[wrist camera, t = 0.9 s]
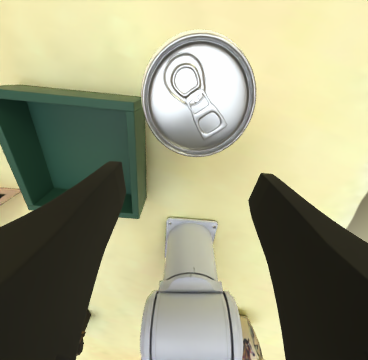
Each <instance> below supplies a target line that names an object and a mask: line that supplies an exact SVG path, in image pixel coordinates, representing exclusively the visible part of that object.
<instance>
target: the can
mask: <svg viewBox="0 0 368 360" xmlns="http://www.w3.org/2000/svg"><path fill="white" fill-rule="evenodd" d="M141 100H142V107H143V111H144V115H145V118H146V121H147V123H148V126H149V128H150V129H151V131H152V133H153V134H154V135H155V137H156V138H157V139H158V140H159V141H160V142H161V143H162V144H163V145H164V146H166V147H167V148H168V149H170V150H172V151H174V152H176V153H178V154H181V155H185V156H190V157H204V156H209V155H213V154H216V153H218V152H221V151H223V150H224V149H226V148H228V147H229V146H230V145H232V144H233V143H234V142H235V141H236V140H237V139H238V138H239V137H240V136H241V135H242V133H243V132H244V131H245V129H246V128H247V126H248V124H249V122H250V120H251V117H252V115H253V112H254V108H255V103H256V83H255V77H254V74H253V71H252V68H251V66H250V63H249V62H248V60H247V58H246V56H245V55H244V53H243V52H242V50H241V49H240V48H239V47H238V46H237V45H236V44H235V43H234V42H233V41H232V40H230V39H229V38H228V37H226V36H224V35H222V34H220V33H217V32H214V31H210V30H204V29H196V30H189V31H185V32H182V33H179V34H177V35H175V36H173V37H172V38H170V39H169V40H167V41H166V42H165V43H163V44H162V45H161V46H160V47H159V48H158V49H157V51H156V52H155V53H154V55H153V56H152V58H151V59H150V61H149V63H148V65H147V67H146V70H145V73H144V76H143V81H142V88H141Z"/></svg>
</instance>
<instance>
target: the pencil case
mask: <svg viewBox="0 0 368 360" xmlns="http://www.w3.org/2000/svg"><path fill="white" fill-rule="evenodd" d="M239 316H240V315H239ZM240 321H241V328H242V336H243V356H242V360H264V359H263V357H262V353H261V349H260V345H259V342H258V339H257V337H256V334H255V332H254V330H253V327H252V326H251V324H250V321H249V319H248V318H247V317H246V316H242V315H241V316H240Z"/></svg>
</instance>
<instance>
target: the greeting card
mask: <svg viewBox="0 0 368 360" xmlns="http://www.w3.org/2000/svg"><path fill="white" fill-rule="evenodd" d="M19 192H21V190H20V189H9V188H0V205H2V204H3V203H5V202H6V201H7V200H9V199H10V198H12V197H13V196H15V195H16V194H18V193H19Z"/></svg>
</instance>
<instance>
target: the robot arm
mask: <svg viewBox="0 0 368 360" xmlns="http://www.w3.org/2000/svg"><path fill="white" fill-rule="evenodd" d="M125 195H126V186H125V180H124V173H123V167H122V162H117V161H109V162H107V163H106V164H104V165H103V166H101V167H100V168H99V169H97V170H96V171H95V172H93V173H92V174H90V175H89V176H88V177H86V178H85V179H83V180H82V181H81V182H79V183H78V184H76V185H75V186H73V187H72V188H70V189H69V190H67V191H66V192H64V193H63V194H61V195H59V196H58V197H56V198H55V199H53V200H51V201H50V202H48V203H46V204H45V205H43V206H41V207H39V208H37V209H36V210H34V211H32V212H30V213H28V214H26V215H24V216H22V217H20V218H18V219H16V220H14V221H12V222H10V223H8V224H6V225H4V226H2V227H0V360H76V356H77V351H78V347H79V343H80V338H81V334H82V330H83V325H84V321H85V317H86V314H87V310H88V306H89V302H90V298H91V294H92V291H93V287H94V284H95V280H96V277H97V273H98V270H99V267H100V263H101V260H102V257H103V254H104V251H105V248H106V246H107V243H108V241H109V239H110V236H111V234H112V231H113V229H114V227H115V224H116V222H117V219H118V217H119V214H120V212H121V209H122V206H123V203H124V199H125ZM248 201H249V206H250V212H251V216H252V220H253V223H254V226H255V229H256V231H257V234H258V237H259V240H260V243H261V246H262V248H263V251H264V254H265V257H266V260H267V264H268V267H269V272H270V276H271V280H272V284H273V289H274V293H275V298H276V303H277V308H278V313H279V319H280V325H281V330H282V337H283V344H284V351H285V358H286V360H368V243H367V242H365V241H363V240H362V239H360V238H359V237H357V236H356V235H354V234H352V233H351V232H349V231H348V230H346V229H345V228H343V227H342V226H340V225H339V224H337V223H336V222H334V221H333V220H331V219H330V218H329V217H327V216H326V215H325V214H323V213H322V212H320V211H319V210H318V209H316V208H315V207H314V206H313V205H311V204H310V203H309V202H307V201H306V200H305V199H304V198H302V197H301V196H300V195H299V194H297V193H296V192H295V191H294V190H292V189H291V188H290V187H289V186H287V185H286V184H285V183H284V182H282V181H281V180H280V179H279V178H277V177H276V176H274V175H273V174H265V173H261V174H260V176H259V178H258V181H257V183H256V185H255V187H254V189H253V192H252V194H251V196H250V198H249V200H248ZM217 225H218V224H217V222H216V221H208V220H196V219H184V218H172V217H169V218H167V225H166V243H165V258H166V259H165V267H164V275H163V281H160V284H159V291H158V290H154V291H152V293H151V294H150V295H149V296H148V298H147V300H146V303H145V307H144V312H143V317H142V325H141V335H140V352H141V360H242V356H243V336H242V328H241V321H240V316H239V311H238V307H237V304H236V301H235V299H234V297H233V296H232V295H231V294H230V292H228V291H223V289H222V283H221V281H218V276H217V270H216V263H215V256H214V249H213V242H214V238H215V233H216V229H217ZM213 226H214V227H213Z"/></svg>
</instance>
